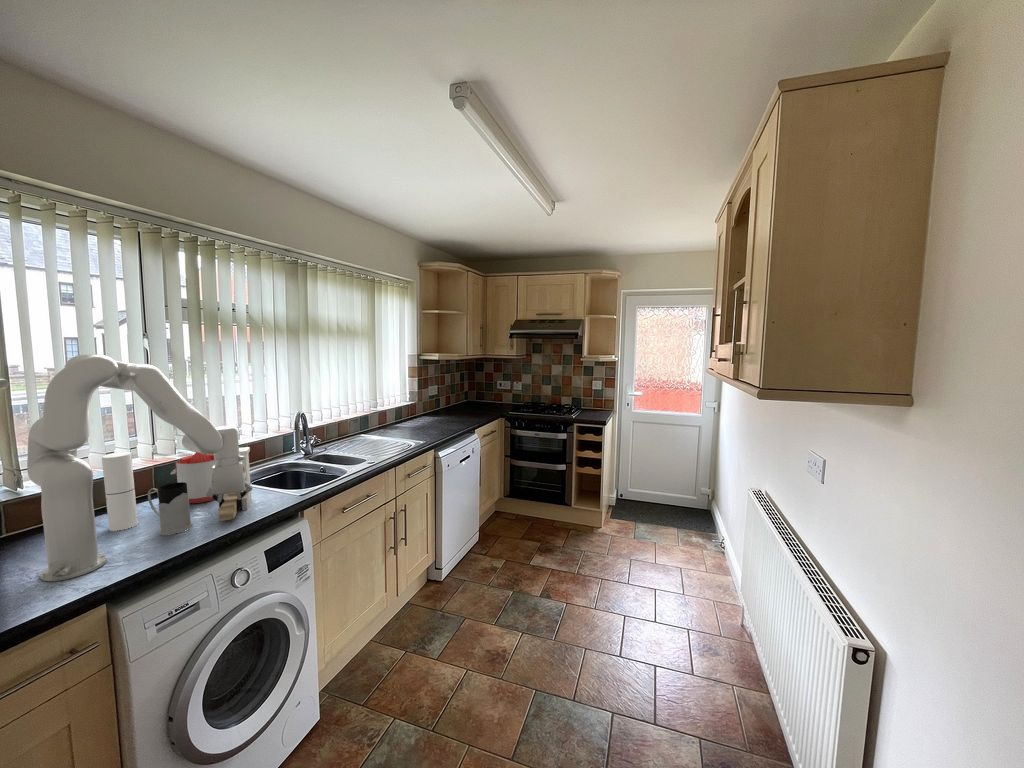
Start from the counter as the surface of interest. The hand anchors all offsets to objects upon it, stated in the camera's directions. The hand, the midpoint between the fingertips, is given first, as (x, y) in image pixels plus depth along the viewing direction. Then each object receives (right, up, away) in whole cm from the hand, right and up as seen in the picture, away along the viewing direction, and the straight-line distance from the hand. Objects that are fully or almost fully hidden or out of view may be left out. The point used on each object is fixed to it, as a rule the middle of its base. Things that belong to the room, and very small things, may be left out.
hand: (231, 510), depth 149 cm
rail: (0, 0, 0) cm, 1 cm away
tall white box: (-4, -1, +9) cm, 10 cm away
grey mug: (-14, -4, -10) cm, 18 cm away
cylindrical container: (-32, -4, -7) cm, 33 cm away
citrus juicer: (-24, -1, +18) cm, 30 cm away
